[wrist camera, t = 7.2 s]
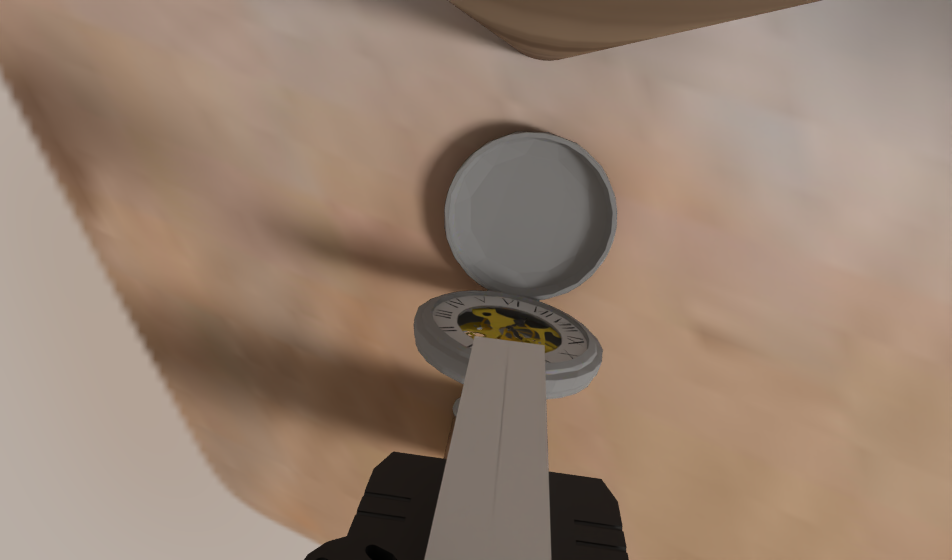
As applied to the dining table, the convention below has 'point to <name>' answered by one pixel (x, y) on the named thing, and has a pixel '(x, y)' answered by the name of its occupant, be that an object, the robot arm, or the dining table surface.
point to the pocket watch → (522, 256)
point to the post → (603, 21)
